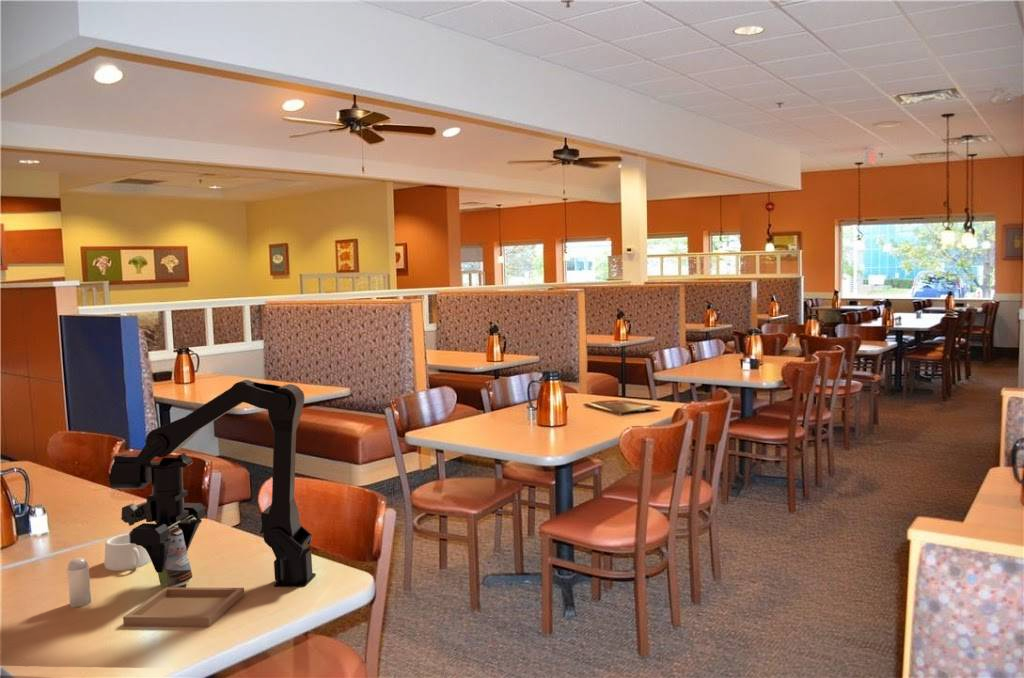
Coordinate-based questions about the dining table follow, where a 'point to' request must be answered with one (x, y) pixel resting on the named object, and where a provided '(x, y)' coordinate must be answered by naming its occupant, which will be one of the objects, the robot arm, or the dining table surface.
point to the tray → (184, 607)
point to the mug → (124, 554)
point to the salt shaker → (79, 582)
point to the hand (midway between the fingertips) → (171, 564)
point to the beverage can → (176, 561)
